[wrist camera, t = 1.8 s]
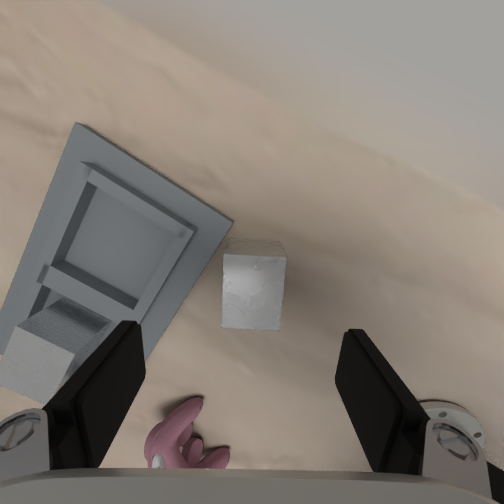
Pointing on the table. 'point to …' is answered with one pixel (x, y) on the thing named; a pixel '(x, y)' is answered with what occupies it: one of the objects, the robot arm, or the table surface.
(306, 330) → the table surface
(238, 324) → the billet
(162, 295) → the grey fixture tray
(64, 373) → the block
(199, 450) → the video game controller
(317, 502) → the robot arm
